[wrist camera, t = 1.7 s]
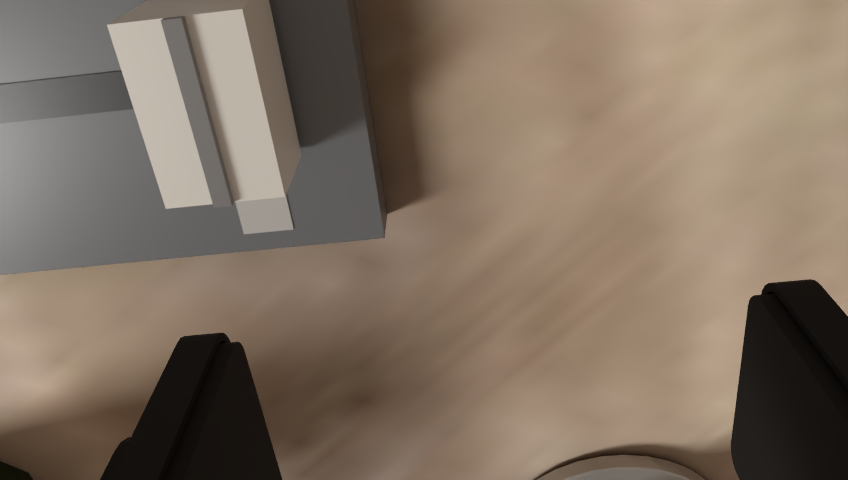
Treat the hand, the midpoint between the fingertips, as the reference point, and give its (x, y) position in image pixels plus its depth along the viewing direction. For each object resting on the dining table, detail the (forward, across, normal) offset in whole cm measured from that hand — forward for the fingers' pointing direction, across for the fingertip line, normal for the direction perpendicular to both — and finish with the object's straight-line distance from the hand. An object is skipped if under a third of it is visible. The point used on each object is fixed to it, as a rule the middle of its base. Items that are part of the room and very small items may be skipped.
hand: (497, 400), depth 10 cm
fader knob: (+17, +8, 0) cm, 19 cm away
